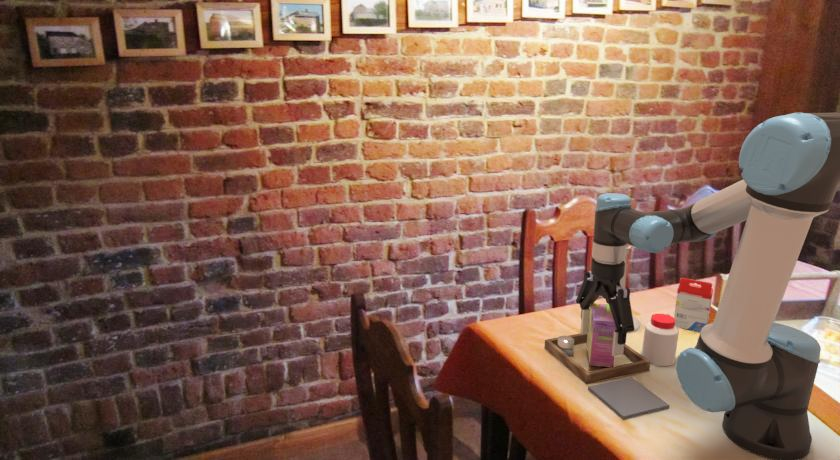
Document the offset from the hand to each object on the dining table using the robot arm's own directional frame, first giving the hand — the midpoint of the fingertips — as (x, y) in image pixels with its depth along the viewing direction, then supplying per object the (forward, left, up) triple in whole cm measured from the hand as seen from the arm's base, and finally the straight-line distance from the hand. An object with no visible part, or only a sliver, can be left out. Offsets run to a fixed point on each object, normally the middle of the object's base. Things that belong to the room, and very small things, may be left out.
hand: (600, 343), depth 141 cm
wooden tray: (+2, 0, -5) cm, 5 cm away
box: (0, 0, -4) cm, 4 cm away
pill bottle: (-3, -15, -5) cm, 16 cm away
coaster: (-15, +4, -5) cm, 17 cm away
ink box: (+8, -36, -5) cm, 37 cm away
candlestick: (+17, -18, -5) cm, 25 cm away
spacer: (+7, +5, -5) cm, 10 cm away
